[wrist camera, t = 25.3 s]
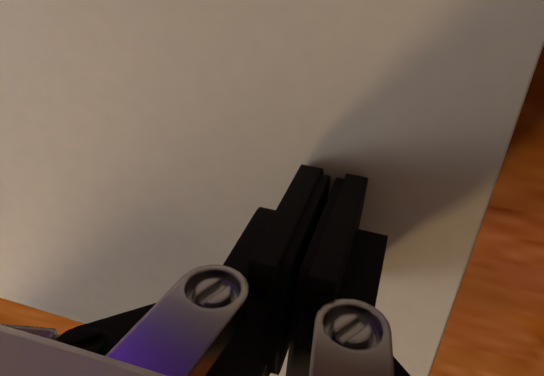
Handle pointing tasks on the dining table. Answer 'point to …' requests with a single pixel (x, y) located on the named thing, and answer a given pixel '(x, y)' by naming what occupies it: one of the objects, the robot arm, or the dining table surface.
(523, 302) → the dining table surface
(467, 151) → the cooler lid
